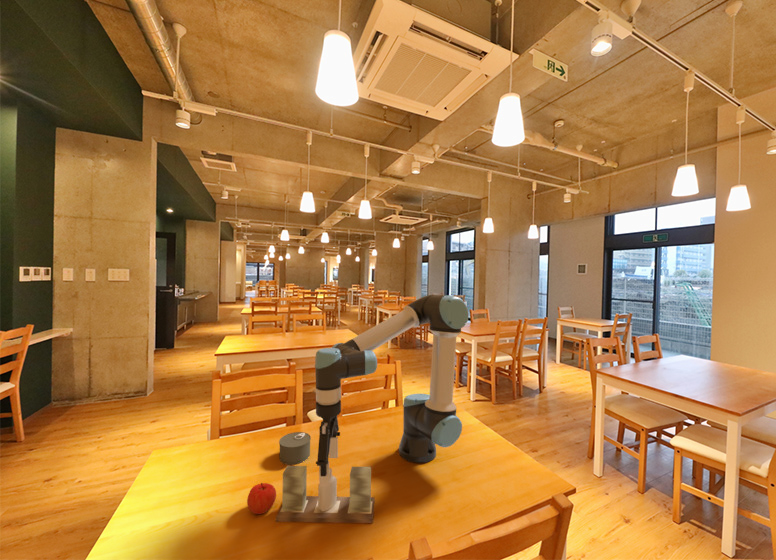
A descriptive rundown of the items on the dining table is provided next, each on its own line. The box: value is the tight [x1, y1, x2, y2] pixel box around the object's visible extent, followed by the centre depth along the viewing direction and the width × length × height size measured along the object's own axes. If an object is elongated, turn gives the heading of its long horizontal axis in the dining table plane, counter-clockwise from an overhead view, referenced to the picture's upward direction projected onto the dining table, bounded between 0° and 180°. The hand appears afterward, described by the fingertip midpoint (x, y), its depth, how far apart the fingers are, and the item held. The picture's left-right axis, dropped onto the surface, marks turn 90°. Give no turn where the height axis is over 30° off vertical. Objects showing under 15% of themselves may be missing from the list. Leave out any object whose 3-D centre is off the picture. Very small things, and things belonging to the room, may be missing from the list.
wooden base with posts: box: [275, 465, 375, 524], centre depth 93 cm, size 28×9×12 cm, turn 89°
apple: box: [246, 482, 277, 515], centre depth 93 cm, size 8×8×8 cm
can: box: [278, 431, 312, 466], centre depth 122 cm, size 12×12×7 cm
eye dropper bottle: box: [317, 467, 338, 511], centre depth 93 cm, size 4×6×12 cm
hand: (329, 470), depth 93 cm, fingers open, 13 cm apart
